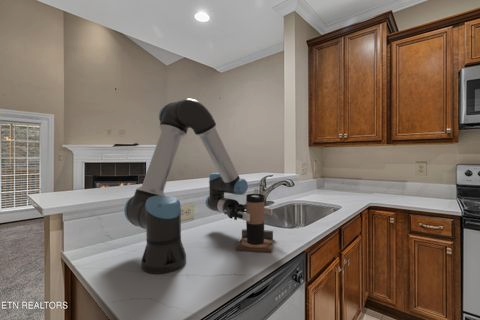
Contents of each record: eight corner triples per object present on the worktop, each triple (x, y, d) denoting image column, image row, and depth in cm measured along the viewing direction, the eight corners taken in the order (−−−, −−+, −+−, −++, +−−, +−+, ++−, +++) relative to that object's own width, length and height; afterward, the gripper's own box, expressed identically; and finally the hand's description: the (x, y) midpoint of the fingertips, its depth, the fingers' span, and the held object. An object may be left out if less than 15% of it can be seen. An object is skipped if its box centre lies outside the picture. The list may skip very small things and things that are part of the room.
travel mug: (251, 237, 107) (251, 193, 106) (267, 240, 103) (267, 194, 102) (243, 243, 100) (242, 195, 100) (259, 246, 96) (259, 197, 96)
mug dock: (271, 253, 93) (271, 242, 93) (236, 250, 95) (236, 240, 95) (272, 239, 107) (272, 230, 107) (242, 237, 110) (242, 229, 110)
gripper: (247, 210, 123) (280, 218, 107) (207, 219, 106) (238, 230, 90) (247, 195, 123) (280, 201, 107) (207, 202, 106) (238, 210, 90)
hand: (261, 214), depth 98 cm, fingers open, 13 cm apart
